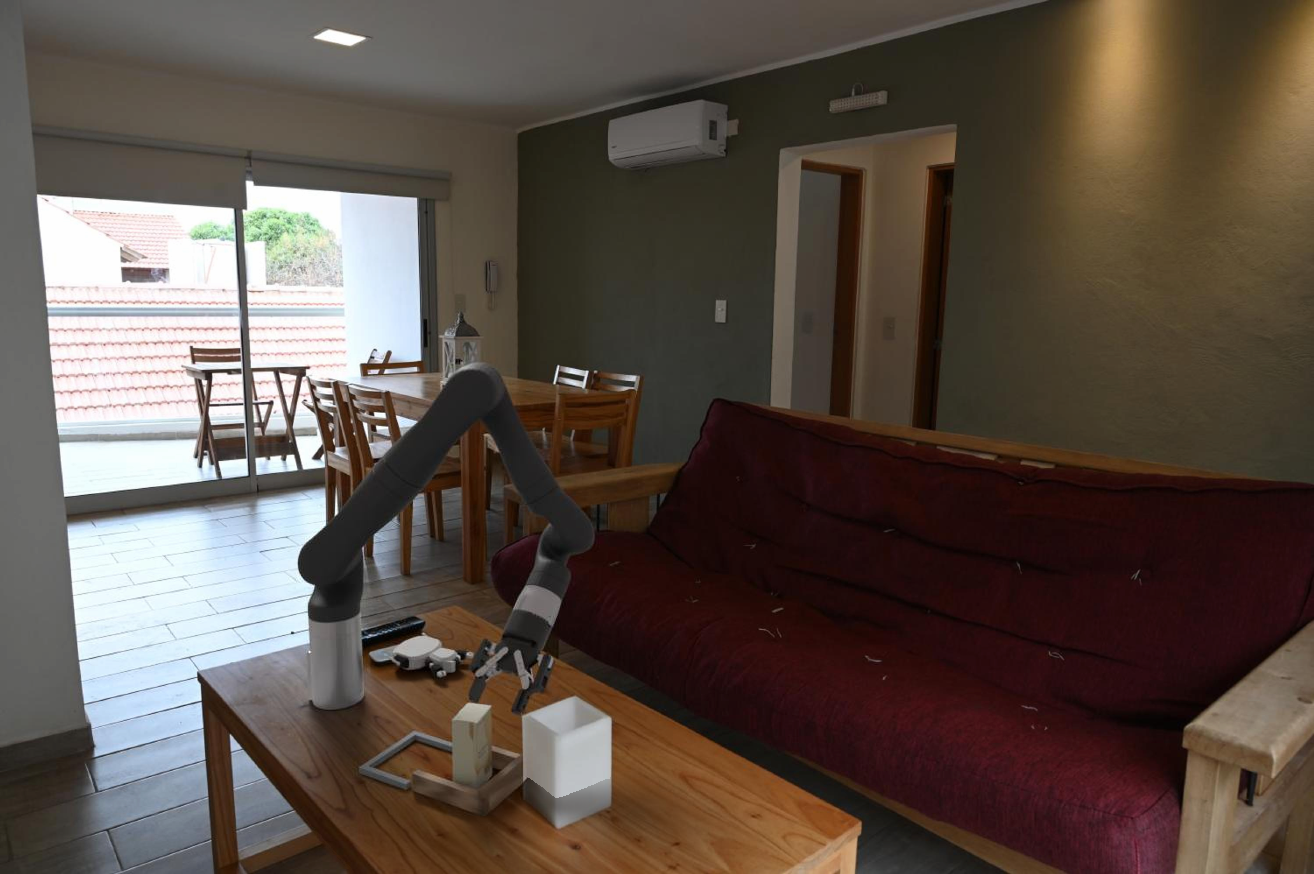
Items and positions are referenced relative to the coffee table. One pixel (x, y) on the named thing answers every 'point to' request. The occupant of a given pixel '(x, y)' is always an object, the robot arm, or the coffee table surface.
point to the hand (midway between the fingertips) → (493, 707)
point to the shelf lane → (472, 798)
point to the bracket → (384, 776)
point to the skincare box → (472, 745)
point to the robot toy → (428, 655)
